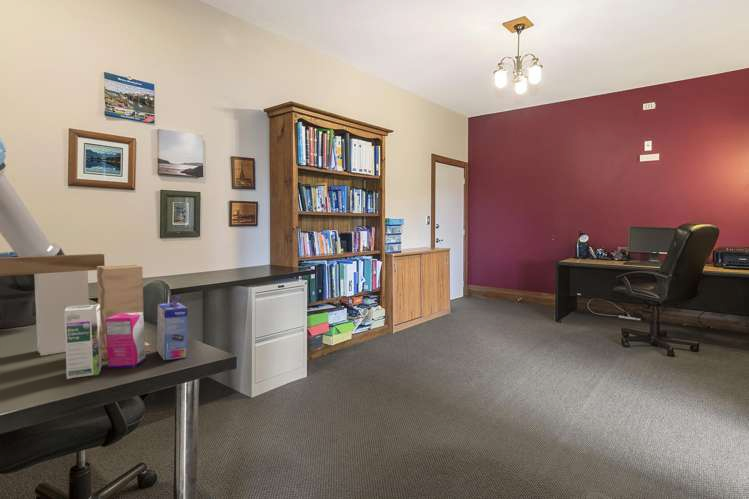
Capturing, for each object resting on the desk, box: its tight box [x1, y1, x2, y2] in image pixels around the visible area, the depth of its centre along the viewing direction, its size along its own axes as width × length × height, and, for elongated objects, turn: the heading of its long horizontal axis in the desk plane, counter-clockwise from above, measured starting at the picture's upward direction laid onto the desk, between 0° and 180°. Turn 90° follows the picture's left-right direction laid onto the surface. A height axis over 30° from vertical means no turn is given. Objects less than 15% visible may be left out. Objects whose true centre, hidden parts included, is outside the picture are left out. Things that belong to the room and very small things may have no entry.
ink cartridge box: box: [156, 294, 188, 361], centre depth 100 cm, size 10×6×14 cm, turn 37°
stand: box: [96, 263, 151, 361], centre depth 103 cm, size 10×10×22 cm
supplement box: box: [105, 312, 147, 369], centre depth 93 cm, size 6×6×12 cm
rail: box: [0, 253, 106, 276], centre depth 102 cm, size 4×22×4 cm, turn 136°
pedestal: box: [34, 271, 90, 357], centre depth 104 cm, size 6×10×20 cm, turn 136°
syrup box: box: [64, 303, 103, 380], centre depth 87 cm, size 6×6×14 cm
